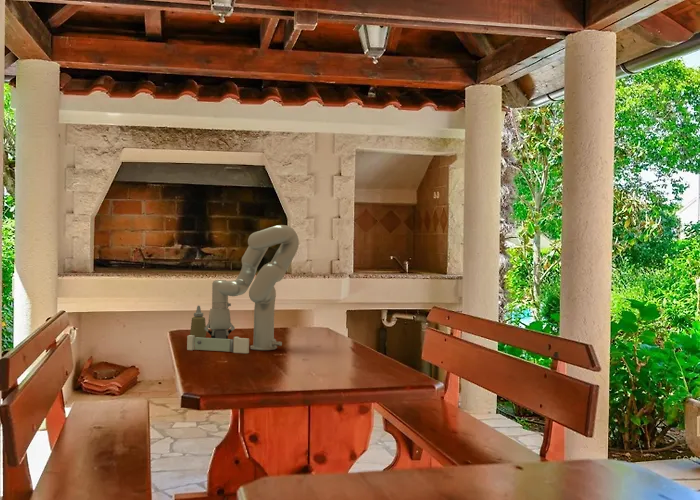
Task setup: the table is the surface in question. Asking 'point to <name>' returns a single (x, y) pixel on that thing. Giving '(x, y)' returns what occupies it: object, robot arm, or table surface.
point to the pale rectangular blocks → (239, 347)
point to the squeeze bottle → (198, 324)
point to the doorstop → (220, 334)
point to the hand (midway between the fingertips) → (219, 343)
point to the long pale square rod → (214, 344)
